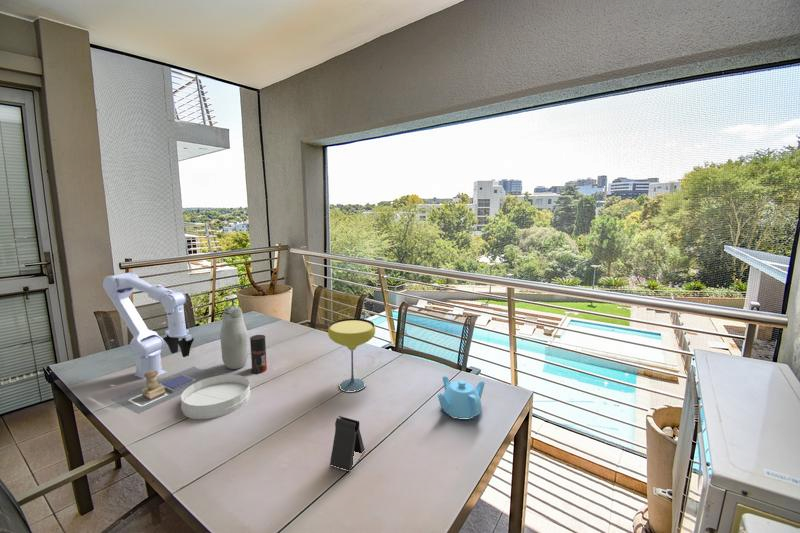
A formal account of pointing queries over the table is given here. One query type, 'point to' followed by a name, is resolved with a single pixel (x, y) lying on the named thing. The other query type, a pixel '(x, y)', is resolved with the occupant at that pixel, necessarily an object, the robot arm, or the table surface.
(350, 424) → the phone stand
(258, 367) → the deodorant
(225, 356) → the glass bottle
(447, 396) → the teapot
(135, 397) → the desk mat
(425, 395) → the table surface
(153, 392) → the stamp
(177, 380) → the ink pad
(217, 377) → the dish
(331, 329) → the cocktail glass
